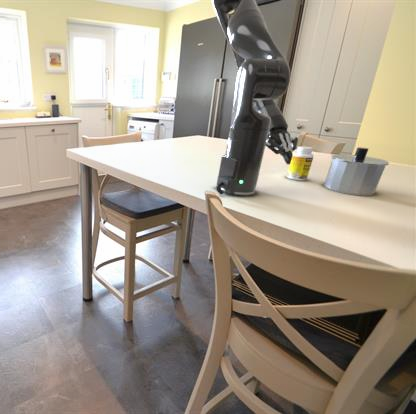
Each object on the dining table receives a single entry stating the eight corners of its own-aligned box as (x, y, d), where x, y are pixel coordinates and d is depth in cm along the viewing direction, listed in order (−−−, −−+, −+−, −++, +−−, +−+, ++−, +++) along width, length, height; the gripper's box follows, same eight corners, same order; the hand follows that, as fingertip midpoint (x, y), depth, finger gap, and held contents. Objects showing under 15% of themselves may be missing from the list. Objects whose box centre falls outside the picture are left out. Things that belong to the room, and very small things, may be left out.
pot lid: (365, 169, 73) (371, 153, 72) (320, 158, 84) (324, 144, 83) (399, 166, 76) (405, 151, 75) (351, 157, 87) (355, 143, 86)
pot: (354, 197, 77) (365, 166, 73) (315, 184, 87) (323, 157, 84) (384, 194, 80) (396, 164, 76) (343, 182, 90) (352, 155, 86)
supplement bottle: (300, 182, 89) (310, 149, 85) (283, 177, 93) (291, 146, 90) (310, 179, 92) (319, 148, 88) (292, 175, 96) (300, 145, 92)
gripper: (278, 127, 105) (297, 167, 99) (248, 128, 102) (267, 170, 96) (294, 113, 98) (316, 156, 92) (263, 113, 95) (284, 158, 89)
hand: (291, 163), depth 94 cm, fingers closed
